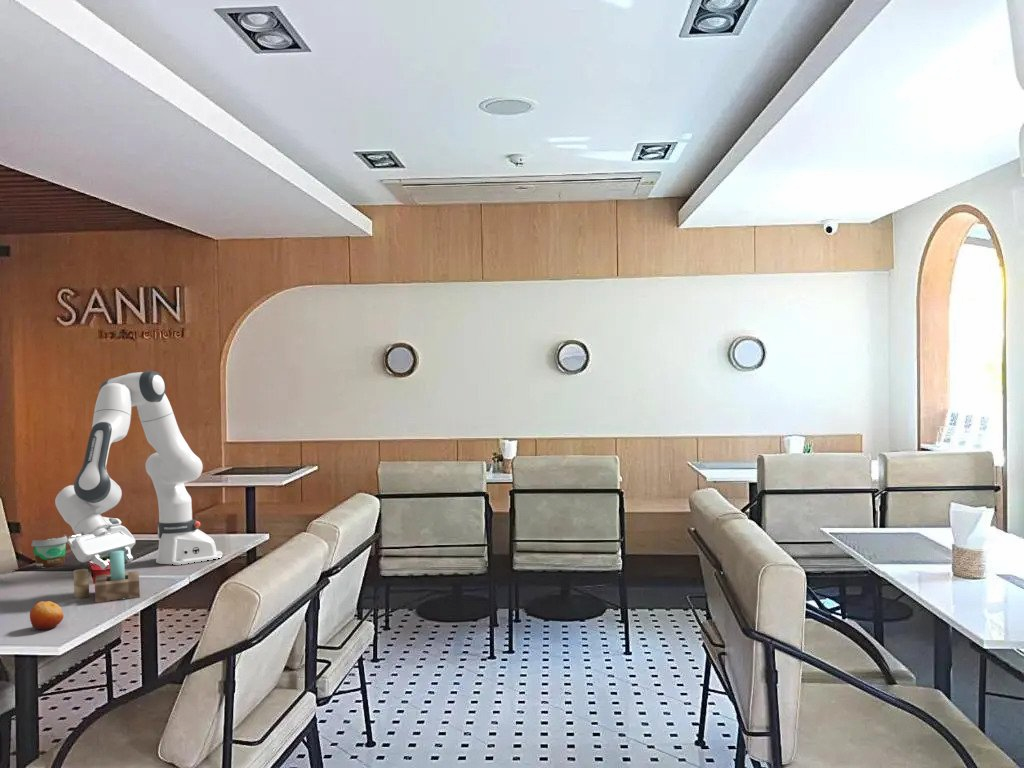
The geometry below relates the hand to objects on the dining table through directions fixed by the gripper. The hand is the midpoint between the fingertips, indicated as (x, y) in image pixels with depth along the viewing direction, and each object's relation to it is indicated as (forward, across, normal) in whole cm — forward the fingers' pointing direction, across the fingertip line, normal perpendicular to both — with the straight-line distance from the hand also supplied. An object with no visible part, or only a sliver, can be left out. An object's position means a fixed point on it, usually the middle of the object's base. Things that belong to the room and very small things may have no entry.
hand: (118, 564), depth 267 cm
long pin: (+6, 0, +7) cm, 9 cm away
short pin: (0, -5, +14) cm, 14 cm away
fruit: (+12, -33, +1) cm, 35 cm away
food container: (-33, +26, +46) cm, 62 cm away
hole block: (+6, 0, +7) cm, 9 cm away
